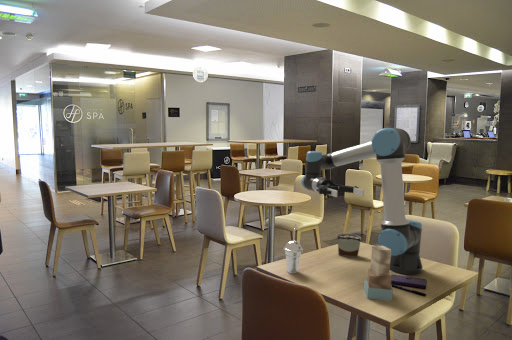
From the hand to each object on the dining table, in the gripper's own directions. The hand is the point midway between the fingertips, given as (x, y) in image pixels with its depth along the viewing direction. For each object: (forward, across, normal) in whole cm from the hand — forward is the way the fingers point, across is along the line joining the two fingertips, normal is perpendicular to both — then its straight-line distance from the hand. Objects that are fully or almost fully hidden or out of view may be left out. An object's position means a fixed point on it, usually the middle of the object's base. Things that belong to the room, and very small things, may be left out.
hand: (350, 193), depth 170 cm
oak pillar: (+21, 0, -27) cm, 35 cm away
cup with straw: (-11, +20, -36) cm, 43 cm away
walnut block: (+21, 0, -32) cm, 38 cm away
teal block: (+21, 0, -36) cm, 42 cm away
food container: (-25, -19, -36) cm, 48 cm away
